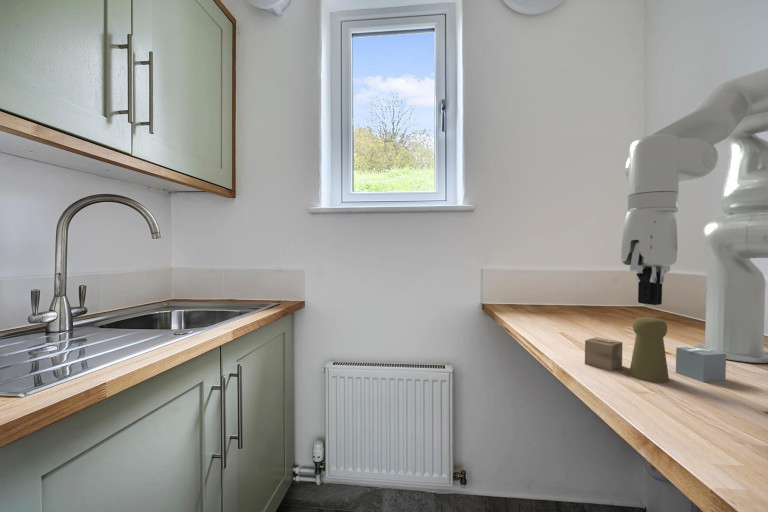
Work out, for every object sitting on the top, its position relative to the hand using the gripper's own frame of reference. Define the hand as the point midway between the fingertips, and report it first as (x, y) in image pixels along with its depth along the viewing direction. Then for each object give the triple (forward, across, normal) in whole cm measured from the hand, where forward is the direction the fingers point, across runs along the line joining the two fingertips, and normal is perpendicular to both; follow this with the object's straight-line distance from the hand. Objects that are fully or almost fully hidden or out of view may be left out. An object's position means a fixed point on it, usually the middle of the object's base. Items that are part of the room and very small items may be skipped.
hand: (649, 303), depth 67 cm
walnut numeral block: (+14, +1, -8) cm, 16 cm away
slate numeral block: (+14, -9, +4) cm, 17 cm away
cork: (+14, 0, 0) cm, 14 cm away
